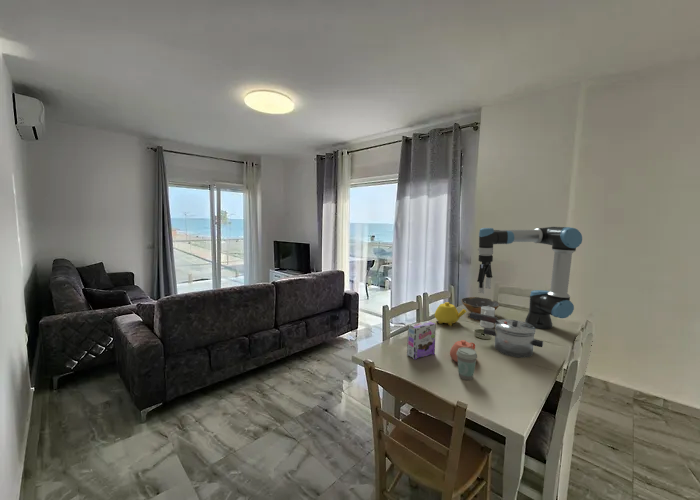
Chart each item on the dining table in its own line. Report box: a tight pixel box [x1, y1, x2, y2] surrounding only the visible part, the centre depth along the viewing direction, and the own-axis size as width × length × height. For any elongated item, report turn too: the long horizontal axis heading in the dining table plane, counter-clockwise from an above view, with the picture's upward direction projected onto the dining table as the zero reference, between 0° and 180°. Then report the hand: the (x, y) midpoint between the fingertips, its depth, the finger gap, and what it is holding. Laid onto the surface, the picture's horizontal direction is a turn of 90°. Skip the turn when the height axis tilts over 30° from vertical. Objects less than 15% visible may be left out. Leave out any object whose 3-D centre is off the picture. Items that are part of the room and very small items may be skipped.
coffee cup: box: [456, 347, 478, 381], centre depth 133 cm, size 8×9×12 cm
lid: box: [469, 312, 537, 334], centre depth 164 cm, size 32×19×4 cm, turn 49°
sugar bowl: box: [449, 339, 476, 363], centre depth 149 cm, size 12×14×10 cm
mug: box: [479, 306, 496, 329], centre depth 195 cm, size 12×8×12 cm
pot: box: [483, 325, 544, 358], centre depth 161 cm, size 28×19×12 cm, turn 49°
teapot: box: [434, 301, 467, 327], centre depth 201 cm, size 20×16×14 cm
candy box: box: [406, 320, 437, 360], centre depth 154 cm, size 14×6×16 cm, turn 117°
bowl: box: [460, 296, 500, 314], centre depth 218 cm, size 25×25×10 cm
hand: (484, 290), depth 177 cm, fingers open, 13 cm apart
